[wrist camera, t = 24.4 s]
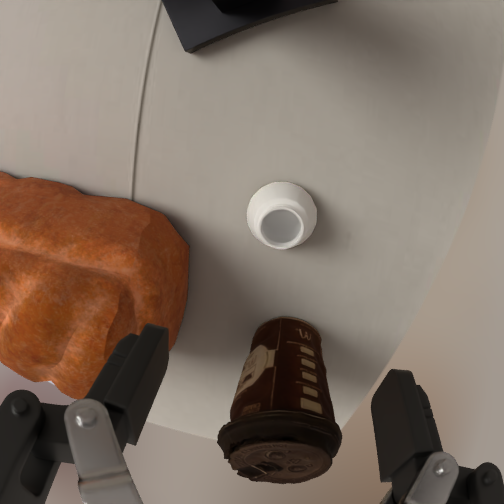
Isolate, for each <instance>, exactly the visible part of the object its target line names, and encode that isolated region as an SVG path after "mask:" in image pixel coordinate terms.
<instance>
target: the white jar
mask: <svg viewBox="0 0 504 504" xmlns="http://www.w3.org/2000/svg"><path fill="white" fill-rule="evenodd" d="M316 223H317V209H316V207H315V204H314V202H313V200H312V197H311V196H310V195H309V194H308V193H307V192H306V191H305V190H304V189H303V188H302V187H300V186H297V185H295V184H292V183H290V182H273V183H270V184H268V185H266V186H263V187H261V188H260V189H259V190H258V191H257V192H256V193H255V194H254V195H253V196H252V198H251V200H250V203H249V206H248V209H247V224H248V226H249V228H250V230H251V232H252V234H253V236H254V237H256V238H257V239H258V240H259V241H260V242H261V243H263V244H264V245H267V246H270V247H272V248H275V249H290V248H292V247H295V246H297V245H300V244H302V243H303V242H304V241H305V240H306V239H307V238H309V237H310V236H311V234H312V232H313V230H314V228H315V226H316Z"/></svg>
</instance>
